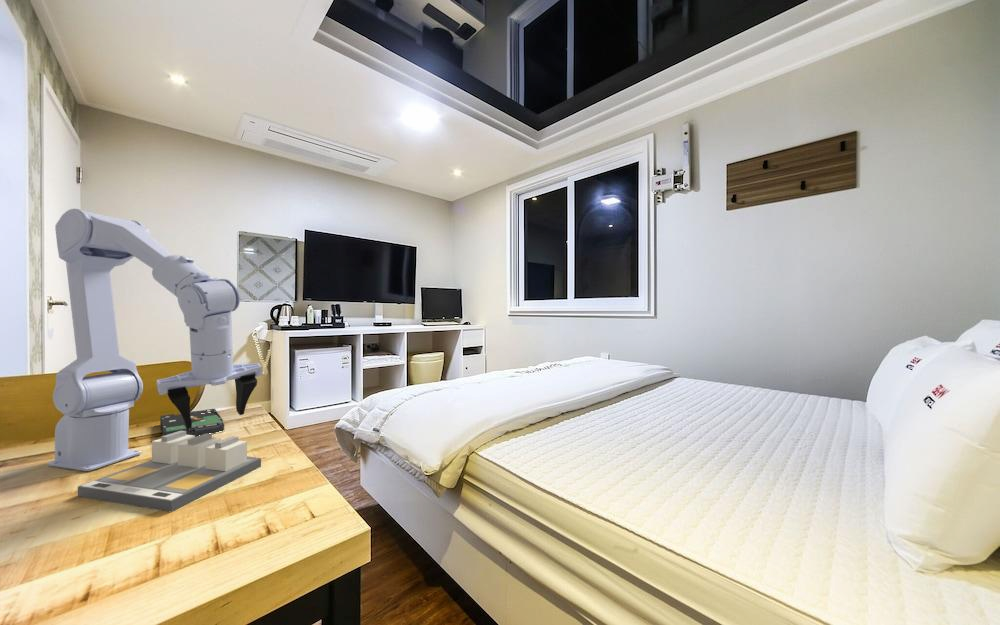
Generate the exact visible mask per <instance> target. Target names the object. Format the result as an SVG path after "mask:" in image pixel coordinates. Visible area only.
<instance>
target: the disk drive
mask: <svg viewBox="0 0 1000 625" xmlns="http://www.w3.org/2000/svg"><path fill="white" fill-rule="evenodd" d="M208 412H211V413H208ZM201 413H205V414H201ZM190 416H191V422H192V428H188V429H186V427H185V425H184V421H183V417H182V415H181V413H179V414H173V413H172V414H165V415H164V414H163V415H160V423H159V427H160V429H161V430H160V431H161V434H162V436H165V435H168V434H171V433H175V432H178V431H186V435H194V436H196V437H197V436H199V435H203V434H206V433H207V434H209V433H214V432H219V431H223V430H224V431H225V423H224V419H223V418H222V417H221V416H220V414H219V413H218V411H217V409H215V408H208V409H202V410H201V409H200V410H194V411H190ZM214 434H215V433H214ZM162 436H161V437H162Z"/></svg>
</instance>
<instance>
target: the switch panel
mask: <svg viewBox="0 0 1000 625" xmlns="http://www.w3.org/2000/svg"><path fill="white" fill-rule="evenodd" d="M260 467H262V458H261V457H255V456H248V455H247V462H245V463H242V464H240V465H238V466H236V467H234V468H232V469H230V470H228V471H218V470H211V469H205V465H203V466H201V467H198V468H196V467H188V466H181V465H178V462H175V463H172V464H166V463H158V462H152V459H151V460H148V461H145V462H141V463H139V464H136V465H133V466H131V467H128V468H125V469H123V470H119V471H117V472H115V473H111V474H108V475H106V476H104V477H100V478H98V479H95V480H91V481H89V482H86V483H83V484H80V485H78V486H77V497H78V498H84V499H90V500H96V501H102V502H109V503H116V504H120V505H127V506H134V507H140V508H145V509H152V510H157V511H158V510H159V511H163V512H171V513H172V512H174V511H176V510H178V509H180V508H182V507H185V505H189V504H190V503H192V502H194V501H195V500H197V499H200V498H202V497H204V496H206V495H208V494H210V493H212V492H213V491H215V490H218V489H219V488H222V487H223V486H225V485H227V484H229V483H231V482H234V481H235V480H237V479H239V478H241V477H243V476H245V475H246V474H249V473H251V472H253V471H254V470H256V469H258V468H260Z"/></svg>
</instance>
